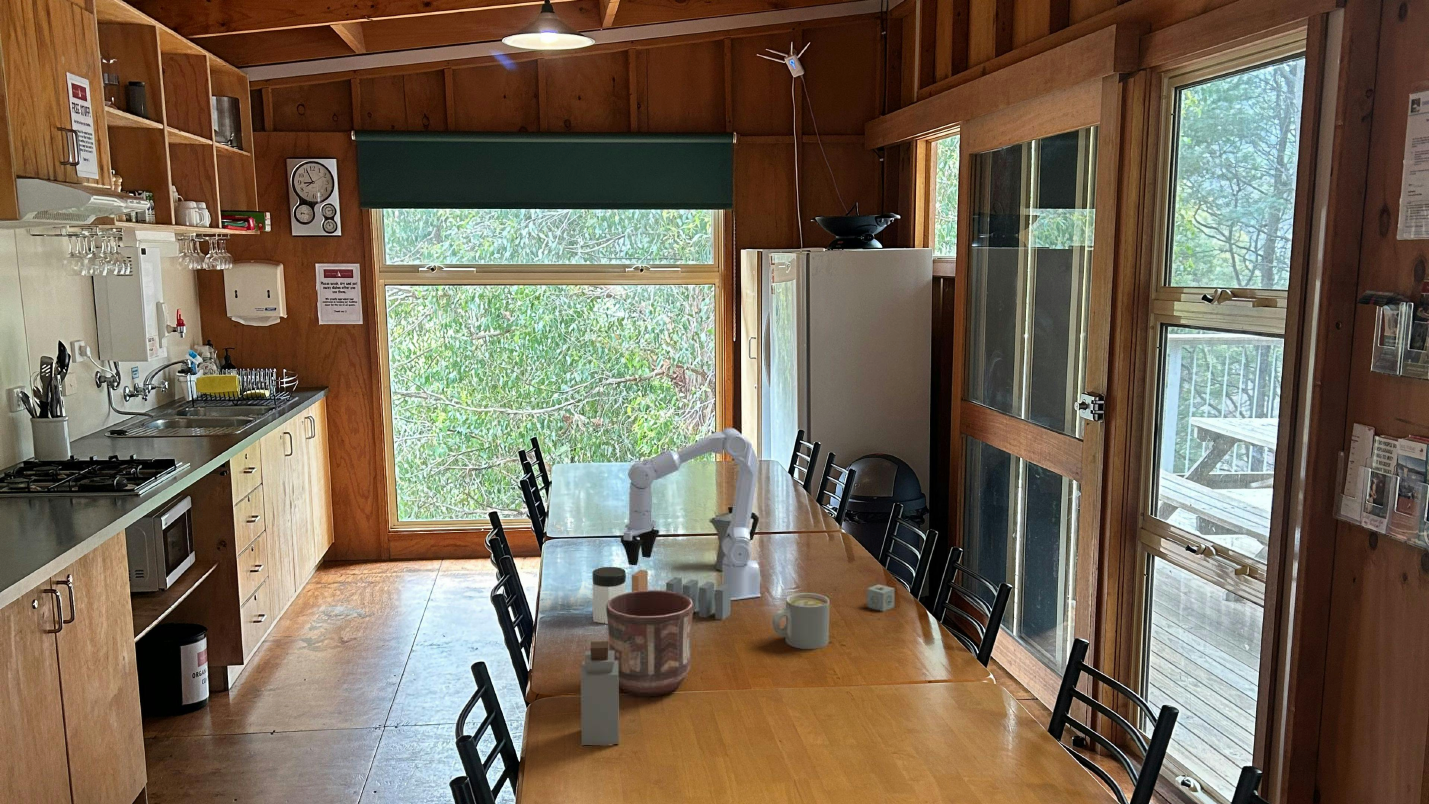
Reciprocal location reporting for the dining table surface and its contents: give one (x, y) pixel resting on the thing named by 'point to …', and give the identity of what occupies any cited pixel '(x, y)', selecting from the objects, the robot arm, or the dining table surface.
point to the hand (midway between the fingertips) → (639, 560)
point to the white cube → (880, 597)
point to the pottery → (650, 640)
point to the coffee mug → (804, 621)
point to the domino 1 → (640, 581)
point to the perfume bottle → (599, 696)
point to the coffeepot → (721, 526)
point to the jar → (606, 589)
